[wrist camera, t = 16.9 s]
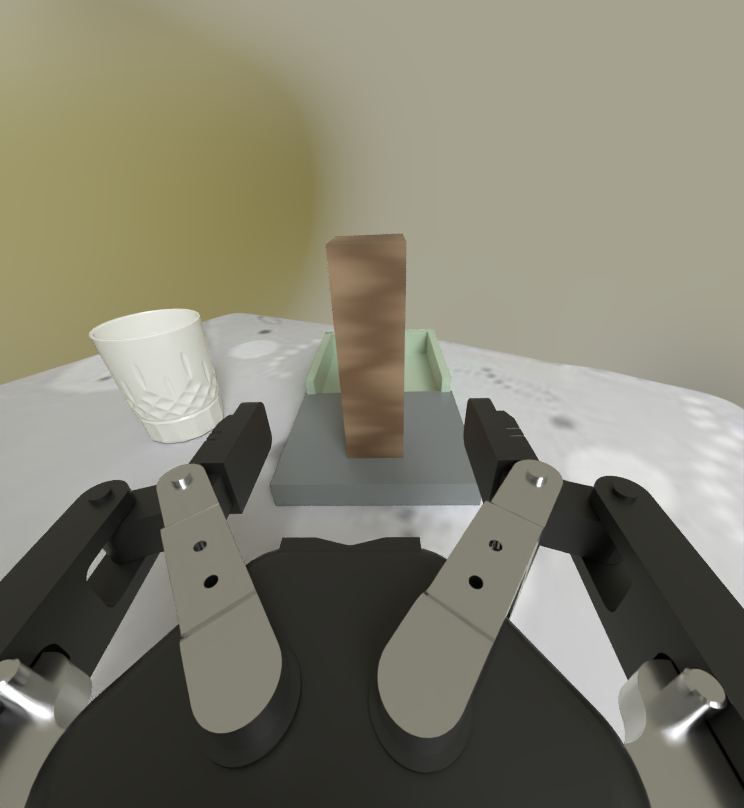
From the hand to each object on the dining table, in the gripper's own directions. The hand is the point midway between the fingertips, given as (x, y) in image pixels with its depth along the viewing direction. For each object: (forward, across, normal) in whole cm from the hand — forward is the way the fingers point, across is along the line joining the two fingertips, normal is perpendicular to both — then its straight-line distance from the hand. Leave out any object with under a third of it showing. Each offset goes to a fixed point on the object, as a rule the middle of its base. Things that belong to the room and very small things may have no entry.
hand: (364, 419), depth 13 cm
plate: (+11, 0, +10) cm, 15 cm away
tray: (+23, 0, +10) cm, 25 cm away
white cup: (+15, +18, +11) cm, 26 cm away
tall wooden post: (+9, 0, +8) cm, 13 cm away
